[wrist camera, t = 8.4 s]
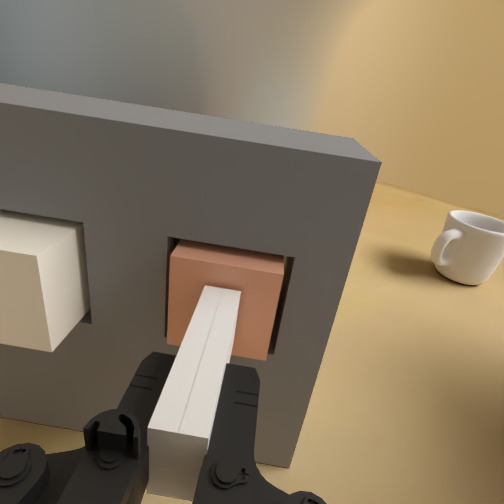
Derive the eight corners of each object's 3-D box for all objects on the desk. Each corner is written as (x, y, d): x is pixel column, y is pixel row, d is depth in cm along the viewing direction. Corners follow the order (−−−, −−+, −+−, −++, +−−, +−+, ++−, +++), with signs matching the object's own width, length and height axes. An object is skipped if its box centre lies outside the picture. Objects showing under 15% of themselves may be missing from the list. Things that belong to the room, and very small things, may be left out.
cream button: (111, 284, 20) (107, 207, 17) (51, 352, 15) (36, 255, 13) (31, 270, 20) (18, 192, 18) (-55, 333, 15) (-87, 235, 13)
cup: (449, 298, 41) (477, 237, 38) (399, 265, 48) (420, 210, 44) (503, 288, 46) (533, 232, 42) (451, 259, 52) (474, 209, 49)
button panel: (288, 388, 26) (353, 138, 18) (289, 468, 20) (381, 162, 12) (-76, 325, 26) (-172, 56, 18) (-168, 387, 21) (-361, 45, 13)
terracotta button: (270, 294, 21) (284, 224, 19) (265, 360, 16) (283, 274, 14) (195, 282, 21) (200, 210, 19) (167, 343, 16) (170, 255, 14)
